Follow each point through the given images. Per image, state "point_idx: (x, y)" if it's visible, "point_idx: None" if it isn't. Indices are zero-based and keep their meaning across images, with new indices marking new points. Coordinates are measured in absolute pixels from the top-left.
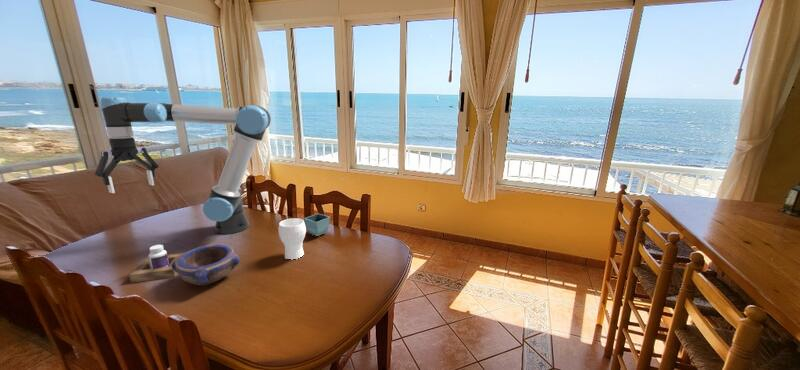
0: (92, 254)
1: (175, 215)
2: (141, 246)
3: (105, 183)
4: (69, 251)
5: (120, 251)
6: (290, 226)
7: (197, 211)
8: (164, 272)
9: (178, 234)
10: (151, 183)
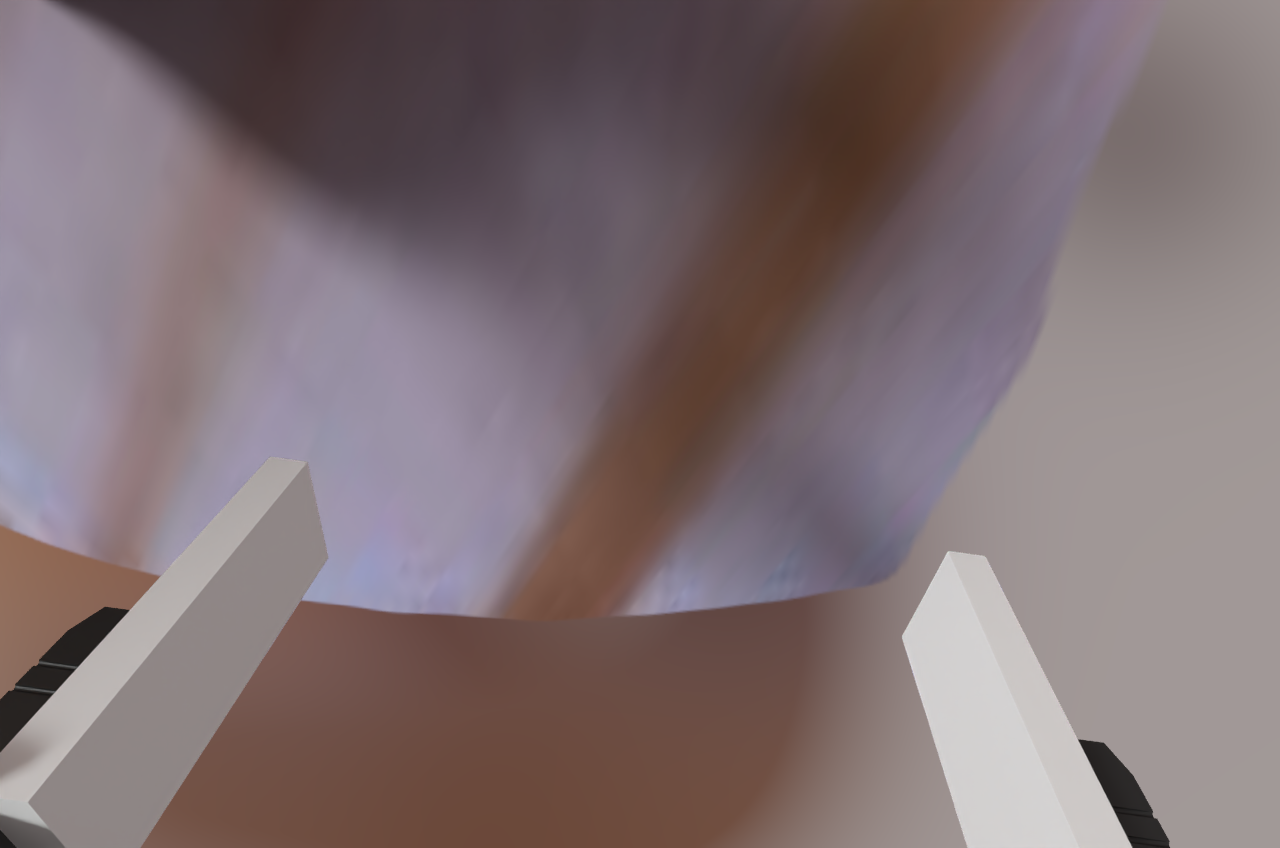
0: (848, 413)
1: None
2: (671, 248)
3: (1140, 796)
4: (842, 549)
5: (774, 301)
6: None
7: (136, 481)
8: None
9: (415, 201)
10: (290, 508)
